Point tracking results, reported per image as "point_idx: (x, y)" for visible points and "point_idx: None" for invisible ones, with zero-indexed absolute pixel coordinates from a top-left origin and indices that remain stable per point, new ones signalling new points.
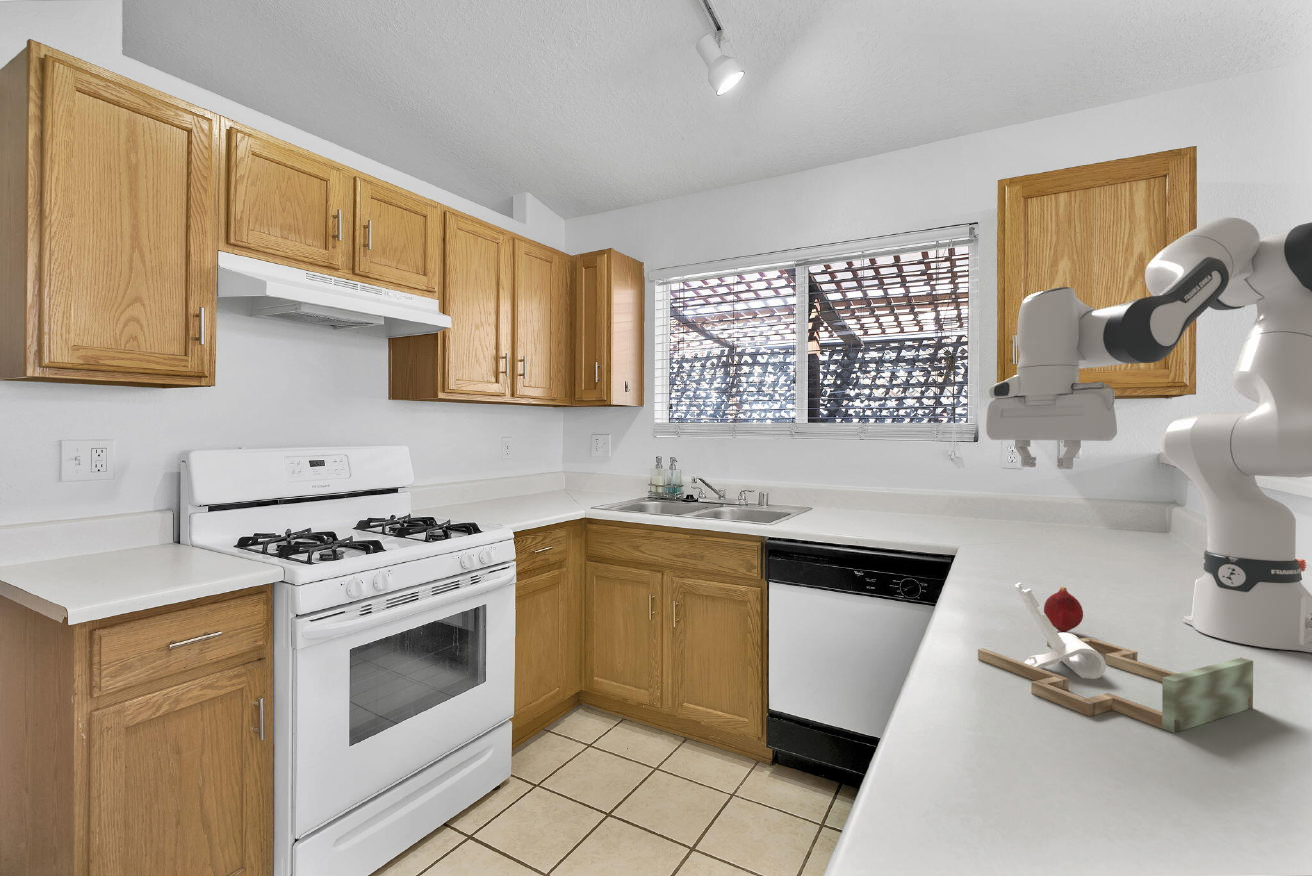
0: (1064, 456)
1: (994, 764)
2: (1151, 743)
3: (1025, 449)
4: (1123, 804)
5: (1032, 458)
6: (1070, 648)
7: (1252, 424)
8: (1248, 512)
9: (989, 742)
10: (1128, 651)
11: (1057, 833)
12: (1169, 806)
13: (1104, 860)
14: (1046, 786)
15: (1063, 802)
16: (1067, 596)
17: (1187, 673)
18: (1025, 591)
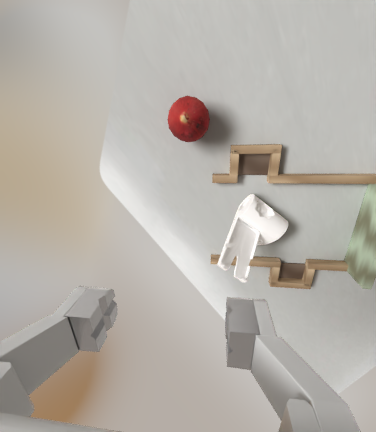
0: (263, 379)
1: (303, 354)
2: (343, 287)
3: (27, 362)
4: (353, 345)
5: (94, 326)
6: (267, 238)
7: None
8: None
9: (291, 342)
10: (276, 153)
11: (343, 373)
12: (367, 334)
13: (360, 374)
14: (326, 353)
15: (336, 358)
16: (194, 124)
17: (373, 266)
18: (242, 281)
